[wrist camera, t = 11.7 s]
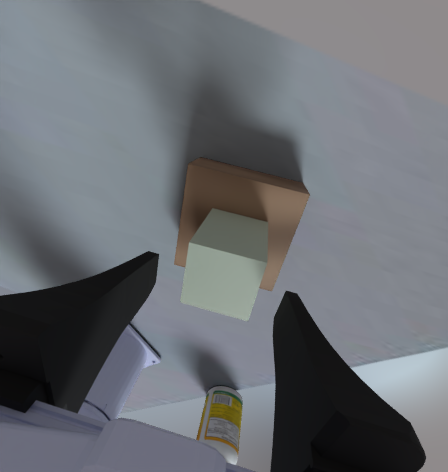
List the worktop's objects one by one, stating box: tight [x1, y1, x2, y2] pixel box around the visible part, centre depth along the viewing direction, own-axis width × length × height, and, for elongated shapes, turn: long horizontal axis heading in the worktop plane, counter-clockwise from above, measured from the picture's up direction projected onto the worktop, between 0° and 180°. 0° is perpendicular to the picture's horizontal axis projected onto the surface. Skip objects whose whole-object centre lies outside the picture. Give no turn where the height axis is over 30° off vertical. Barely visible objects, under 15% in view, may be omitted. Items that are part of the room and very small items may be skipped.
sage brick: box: [180, 208, 268, 321], centre depth 17 cm, size 4×4×6 cm
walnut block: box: [174, 157, 310, 291], centre depth 21 cm, size 9×9×4 cm
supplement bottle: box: [196, 386, 243, 465], centre depth 30 cm, size 5×5×10 cm
